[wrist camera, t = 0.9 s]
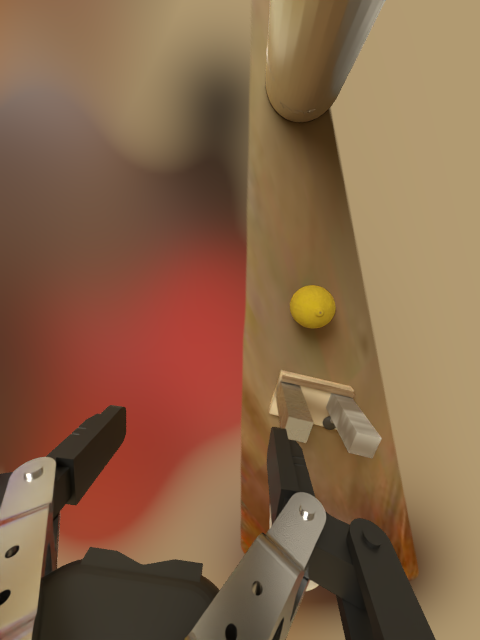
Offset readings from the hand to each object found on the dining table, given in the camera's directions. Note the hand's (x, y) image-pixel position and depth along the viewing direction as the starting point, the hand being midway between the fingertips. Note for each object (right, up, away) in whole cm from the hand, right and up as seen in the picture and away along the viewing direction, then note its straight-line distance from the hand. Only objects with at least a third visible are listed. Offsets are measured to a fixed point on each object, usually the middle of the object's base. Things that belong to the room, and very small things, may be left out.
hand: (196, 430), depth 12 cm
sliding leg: (+10, -5, +24) cm, 26 cm away
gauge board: (+14, -7, +25) cm, 29 cm away
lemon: (+12, +9, +22) cm, 26 cm away
